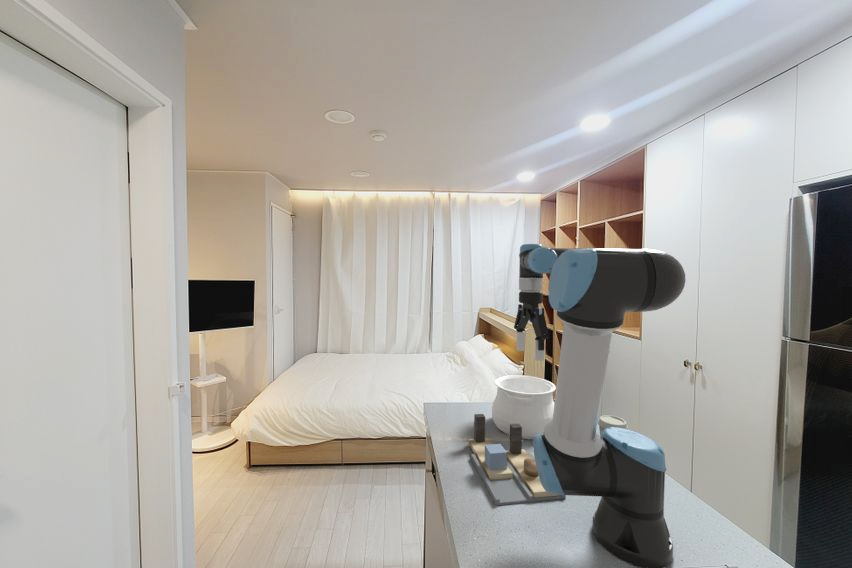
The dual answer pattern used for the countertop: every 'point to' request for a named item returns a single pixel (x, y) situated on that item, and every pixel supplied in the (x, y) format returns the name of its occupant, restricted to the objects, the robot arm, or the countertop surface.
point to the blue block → (495, 457)
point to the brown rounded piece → (530, 467)
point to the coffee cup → (611, 423)
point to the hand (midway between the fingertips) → (529, 355)
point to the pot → (523, 404)
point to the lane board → (509, 487)
